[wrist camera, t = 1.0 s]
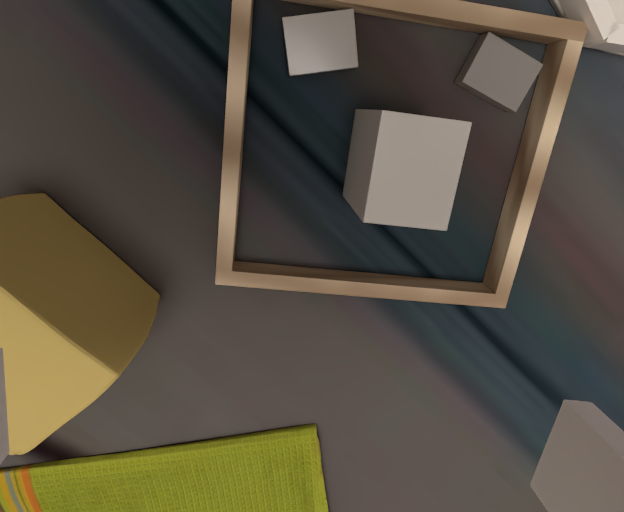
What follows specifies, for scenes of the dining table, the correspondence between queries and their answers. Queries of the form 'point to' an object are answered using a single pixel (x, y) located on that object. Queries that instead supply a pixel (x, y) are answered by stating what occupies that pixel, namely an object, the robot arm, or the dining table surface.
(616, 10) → the bowl
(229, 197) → the wooden frame
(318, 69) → the light grey block
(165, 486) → the dish towel
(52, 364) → the cheese
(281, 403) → the dining table surface
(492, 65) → the grey rectangular block
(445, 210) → the pale grey block
